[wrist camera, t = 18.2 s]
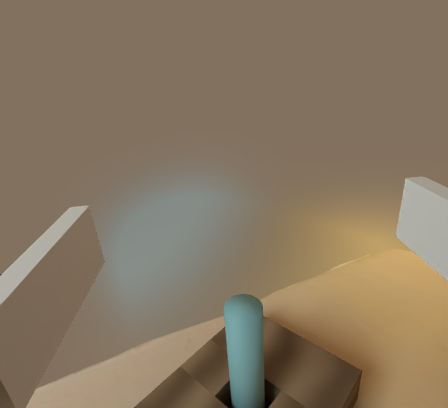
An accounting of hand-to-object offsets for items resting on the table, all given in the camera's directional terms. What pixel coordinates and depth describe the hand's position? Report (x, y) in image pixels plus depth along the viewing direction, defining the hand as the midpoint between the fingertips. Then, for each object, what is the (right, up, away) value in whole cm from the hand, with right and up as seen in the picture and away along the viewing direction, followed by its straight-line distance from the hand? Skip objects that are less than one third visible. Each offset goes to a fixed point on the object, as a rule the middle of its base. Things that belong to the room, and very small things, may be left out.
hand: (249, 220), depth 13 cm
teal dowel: (+2, -23, +21) cm, 31 cm away
